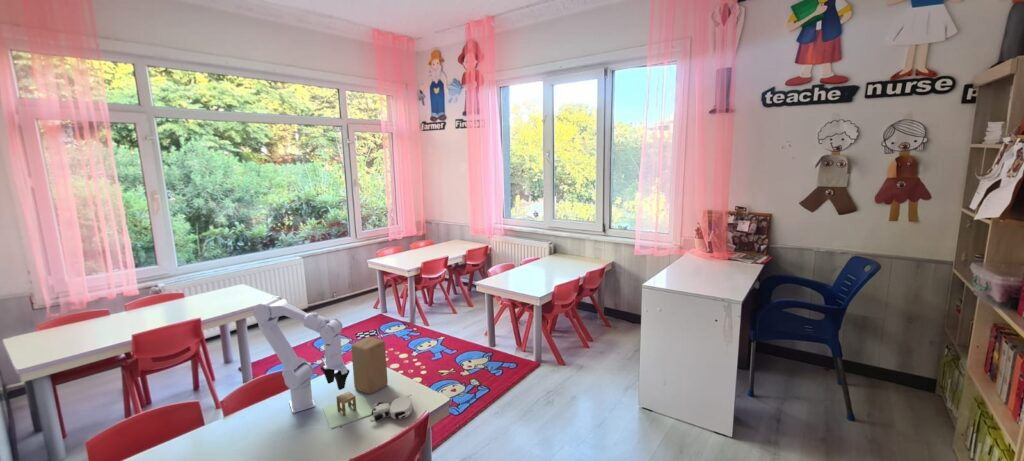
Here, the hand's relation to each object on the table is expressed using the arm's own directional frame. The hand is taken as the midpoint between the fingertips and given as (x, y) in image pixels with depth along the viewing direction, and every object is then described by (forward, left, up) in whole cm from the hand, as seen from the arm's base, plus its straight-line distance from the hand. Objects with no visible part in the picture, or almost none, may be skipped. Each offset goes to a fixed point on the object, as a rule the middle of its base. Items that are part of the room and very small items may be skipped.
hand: (336, 385), depth 160 cm
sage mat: (+5, +2, -9) cm, 11 cm away
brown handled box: (+5, +2, -9) cm, 10 cm away
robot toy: (+17, +16, -10) cm, 25 cm away
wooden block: (-8, +15, -10) cm, 20 cm away
